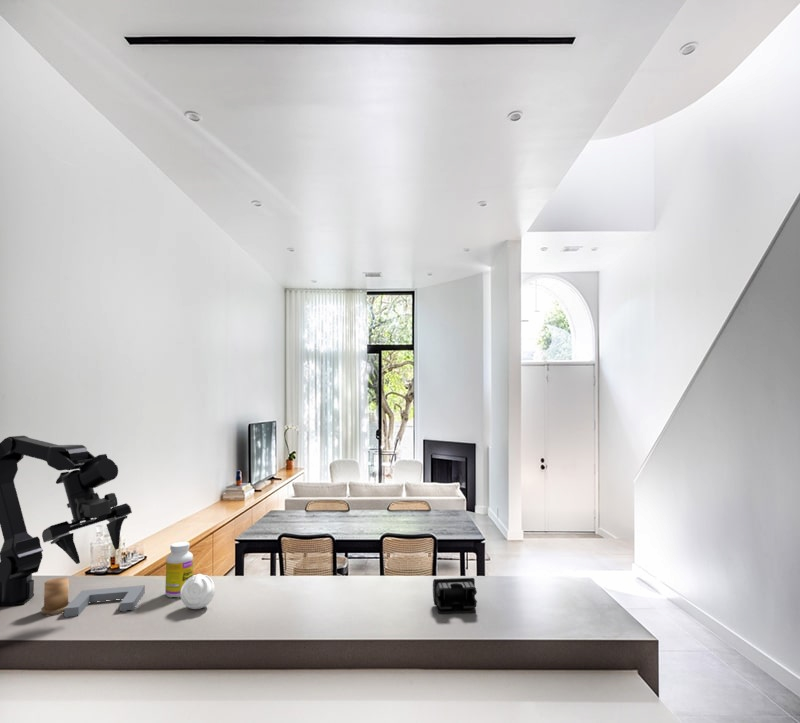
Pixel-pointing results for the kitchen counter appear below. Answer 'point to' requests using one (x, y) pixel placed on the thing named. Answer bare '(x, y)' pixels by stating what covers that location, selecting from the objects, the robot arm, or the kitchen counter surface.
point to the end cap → (454, 595)
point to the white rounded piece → (197, 591)
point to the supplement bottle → (178, 568)
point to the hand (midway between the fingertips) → (98, 556)
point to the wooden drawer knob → (55, 596)
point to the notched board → (106, 598)
